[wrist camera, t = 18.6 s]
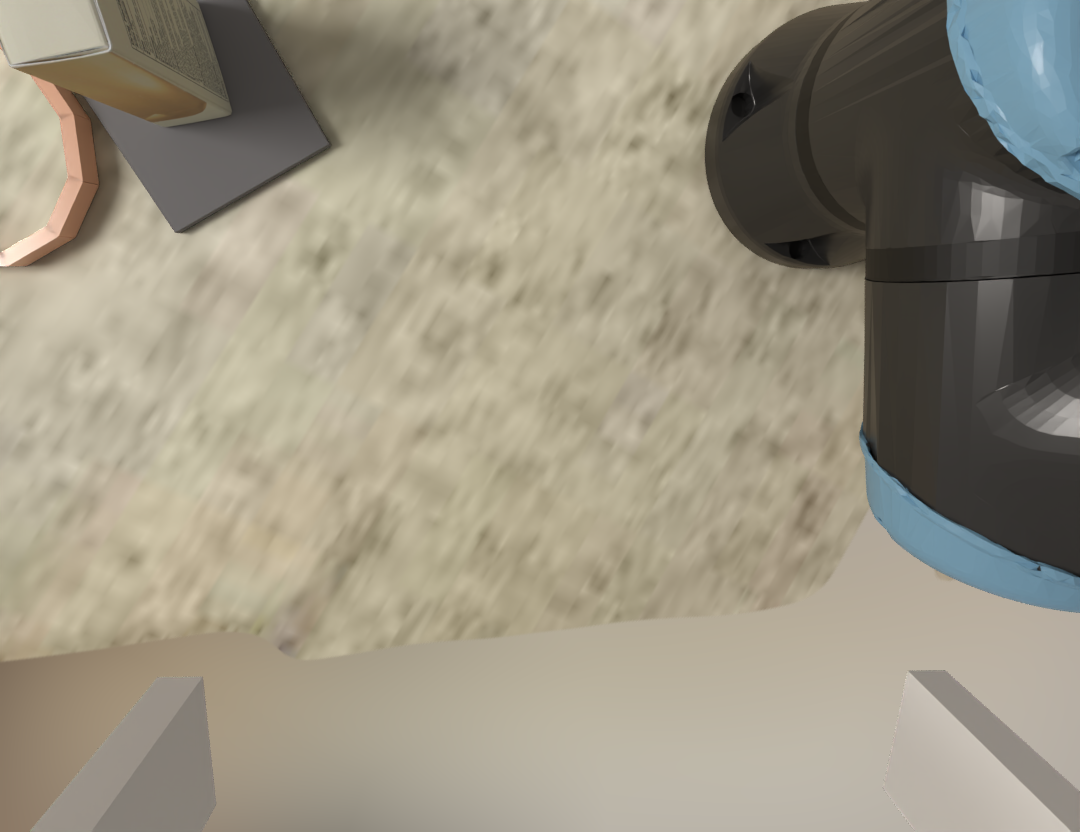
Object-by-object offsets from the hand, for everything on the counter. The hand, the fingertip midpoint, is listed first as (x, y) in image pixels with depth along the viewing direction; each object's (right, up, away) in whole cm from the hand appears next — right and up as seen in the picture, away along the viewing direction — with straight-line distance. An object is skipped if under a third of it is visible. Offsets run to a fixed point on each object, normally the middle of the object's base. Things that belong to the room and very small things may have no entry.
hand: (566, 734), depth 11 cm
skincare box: (-21, +26, +24) cm, 41 cm away
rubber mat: (-22, +26, +24) cm, 42 cm away
